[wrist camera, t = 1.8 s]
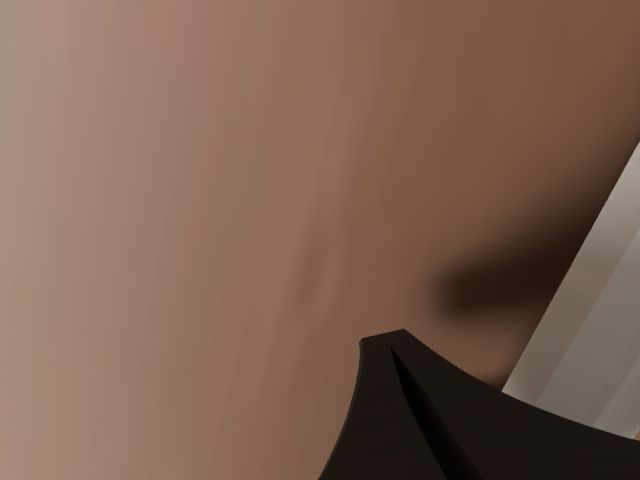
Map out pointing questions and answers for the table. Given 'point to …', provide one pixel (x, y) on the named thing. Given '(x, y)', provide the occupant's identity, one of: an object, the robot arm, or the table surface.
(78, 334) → the table surface
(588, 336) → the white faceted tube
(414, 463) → the robot arm
